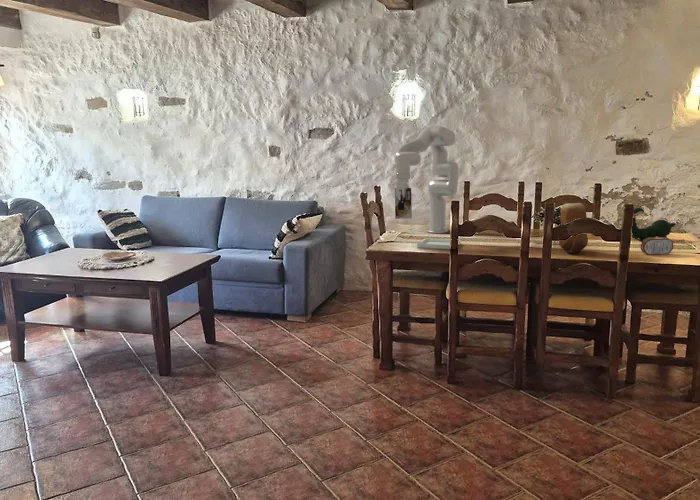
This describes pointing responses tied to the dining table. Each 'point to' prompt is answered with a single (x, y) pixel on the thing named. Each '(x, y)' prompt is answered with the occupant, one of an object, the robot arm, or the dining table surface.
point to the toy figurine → (651, 228)
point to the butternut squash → (568, 215)
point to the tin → (657, 246)
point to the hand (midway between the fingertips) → (403, 208)
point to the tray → (435, 243)
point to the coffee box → (407, 206)
